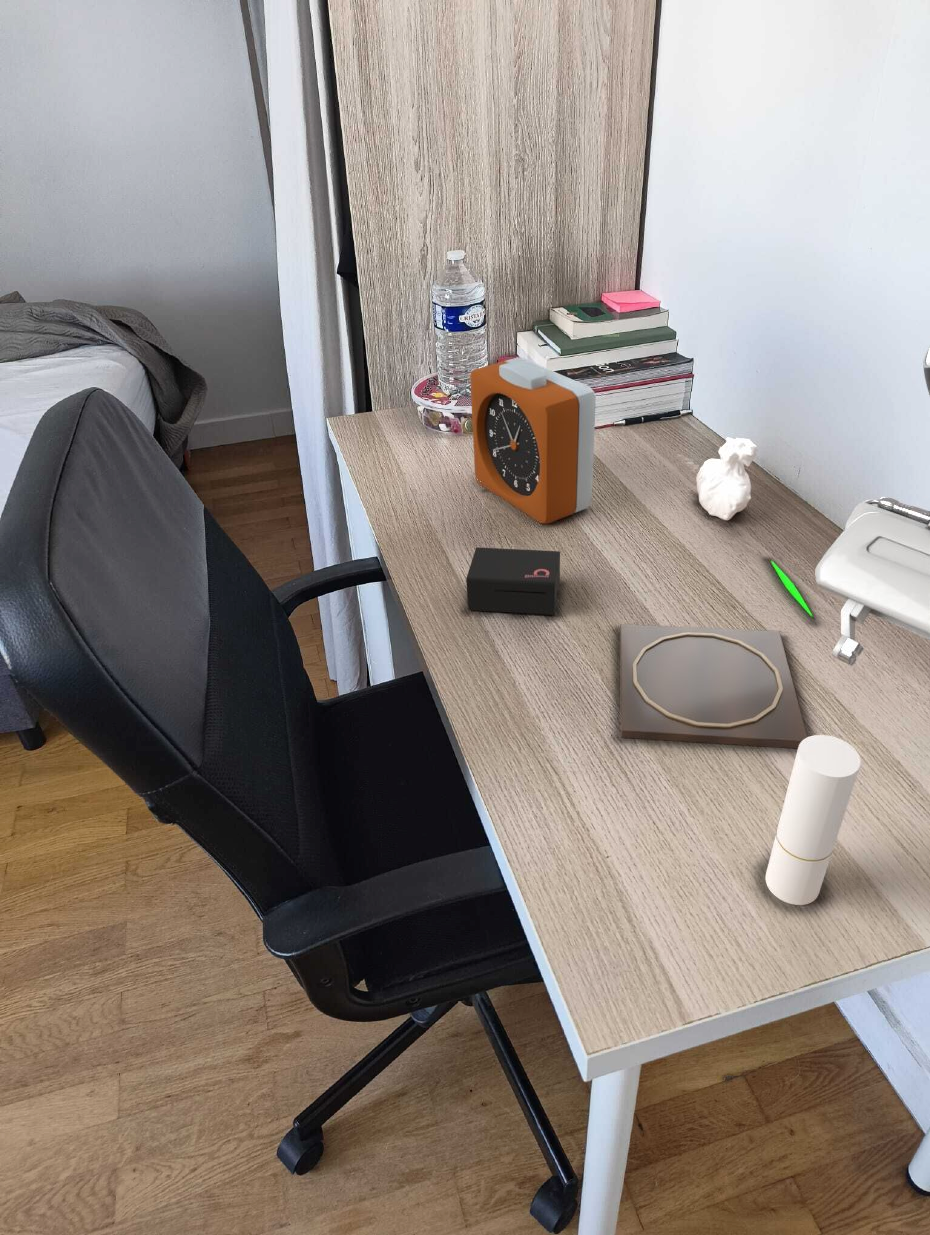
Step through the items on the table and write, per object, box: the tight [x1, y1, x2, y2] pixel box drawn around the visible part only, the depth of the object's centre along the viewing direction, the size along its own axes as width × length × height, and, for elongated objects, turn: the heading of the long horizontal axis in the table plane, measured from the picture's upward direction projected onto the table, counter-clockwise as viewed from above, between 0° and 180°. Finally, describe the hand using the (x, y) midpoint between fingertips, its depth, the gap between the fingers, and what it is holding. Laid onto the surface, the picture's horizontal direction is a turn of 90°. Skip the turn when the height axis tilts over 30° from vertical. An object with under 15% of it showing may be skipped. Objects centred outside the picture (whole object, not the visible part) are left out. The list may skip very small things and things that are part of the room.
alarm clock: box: [469, 356, 597, 524], centre depth 121 cm, size 18×9×21 cm, turn 33°
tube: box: [765, 734, 862, 906], centre depth 66 cm, size 4×4×15 cm
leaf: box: [768, 557, 816, 621], centre depth 104 cm, size 1×14×1 cm, turn 5°
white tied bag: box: [695, 436, 759, 521], centre depth 119 cm, size 12×8×11 cm
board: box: [619, 623, 808, 749], centre depth 90 cm, size 18×18×1 cm
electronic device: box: [466, 546, 561, 616], centre depth 104 cm, size 7×11×5 cm
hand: (897, 688), depth 65 cm, fingers open, 8 cm apart
